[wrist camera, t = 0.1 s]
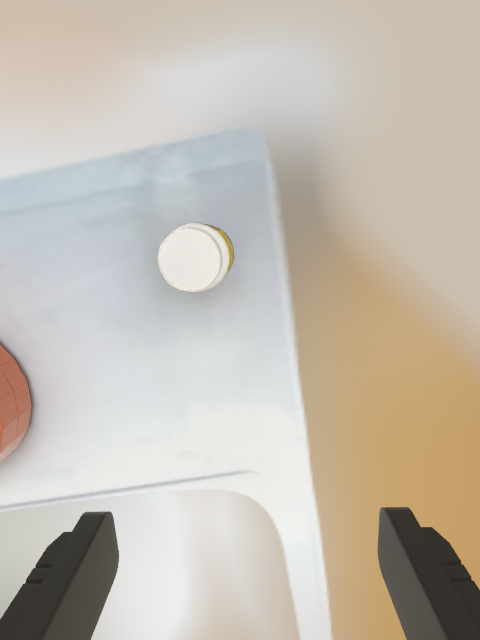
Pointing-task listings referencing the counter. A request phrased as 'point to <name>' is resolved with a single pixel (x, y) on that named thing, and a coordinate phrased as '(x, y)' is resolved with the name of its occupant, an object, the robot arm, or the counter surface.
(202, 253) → the supplement bottle
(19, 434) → the bowl
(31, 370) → the counter surface
